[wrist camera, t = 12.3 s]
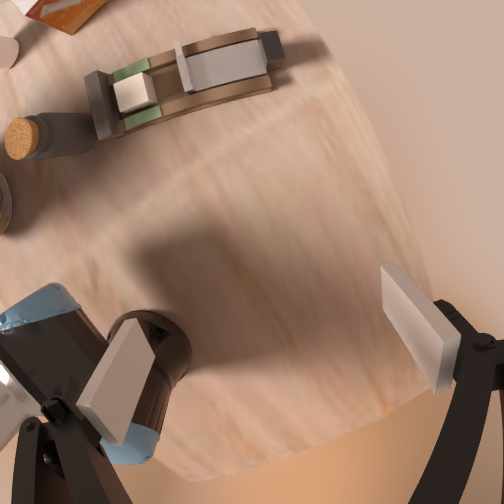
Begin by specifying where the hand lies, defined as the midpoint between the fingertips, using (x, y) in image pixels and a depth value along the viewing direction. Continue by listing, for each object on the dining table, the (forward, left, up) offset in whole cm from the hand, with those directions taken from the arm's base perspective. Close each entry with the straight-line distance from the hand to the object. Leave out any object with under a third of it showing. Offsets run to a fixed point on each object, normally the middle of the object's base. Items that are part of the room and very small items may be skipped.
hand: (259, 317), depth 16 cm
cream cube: (-11, +19, -28) cm, 35 cm away
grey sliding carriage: (+1, +20, -27) cm, 34 cm away
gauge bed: (-6, +19, -29) cm, 35 cm away
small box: (-18, +38, -29) cm, 51 cm away
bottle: (-22, +17, -29) cm, 40 cm away
